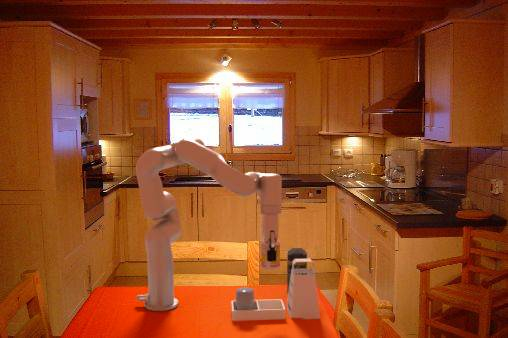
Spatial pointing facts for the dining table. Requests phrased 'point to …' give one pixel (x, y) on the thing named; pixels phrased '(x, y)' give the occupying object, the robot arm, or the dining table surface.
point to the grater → (303, 293)
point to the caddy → (260, 310)
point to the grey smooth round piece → (244, 299)
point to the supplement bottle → (264, 263)
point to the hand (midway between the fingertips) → (270, 257)
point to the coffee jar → (296, 254)
